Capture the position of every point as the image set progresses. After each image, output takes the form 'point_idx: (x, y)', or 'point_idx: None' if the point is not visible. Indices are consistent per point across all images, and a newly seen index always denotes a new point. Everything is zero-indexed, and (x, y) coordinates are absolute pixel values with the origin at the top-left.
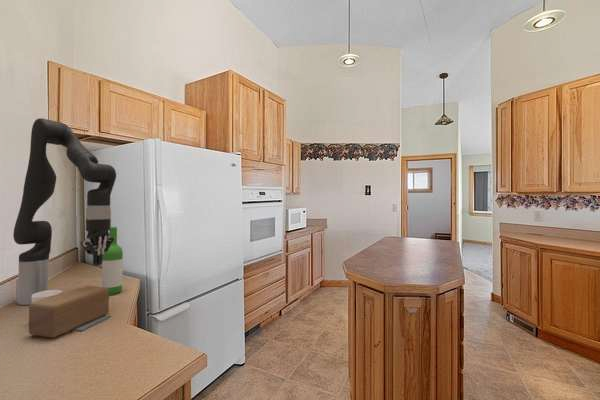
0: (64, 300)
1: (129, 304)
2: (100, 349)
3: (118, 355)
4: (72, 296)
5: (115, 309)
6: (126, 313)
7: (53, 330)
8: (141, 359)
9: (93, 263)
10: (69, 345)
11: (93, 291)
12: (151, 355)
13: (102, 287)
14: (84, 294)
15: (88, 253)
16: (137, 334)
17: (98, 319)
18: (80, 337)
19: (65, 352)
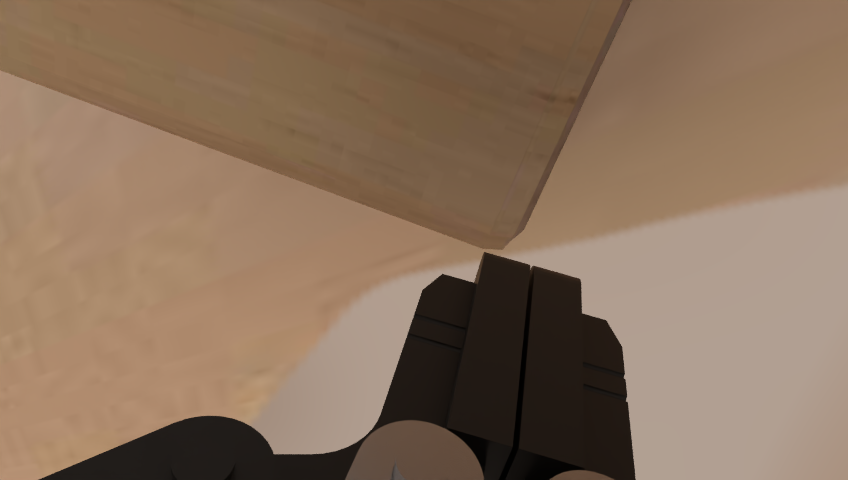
0: (24, 47)
1: (800, 189)
2: (90, 281)
3: (68, 360)
4: (143, 49)
5: (681, 121)
6: (559, 239)
7: None
8: (67, 430)
9: (437, 282)
10: (86, 120)
11: (329, 178)
12: (97, 451)
13: (484, 204)
14: (225, 138)
15: (157, 450)
16: (246, 377)
17: None
18: None
19: (26, 144)
